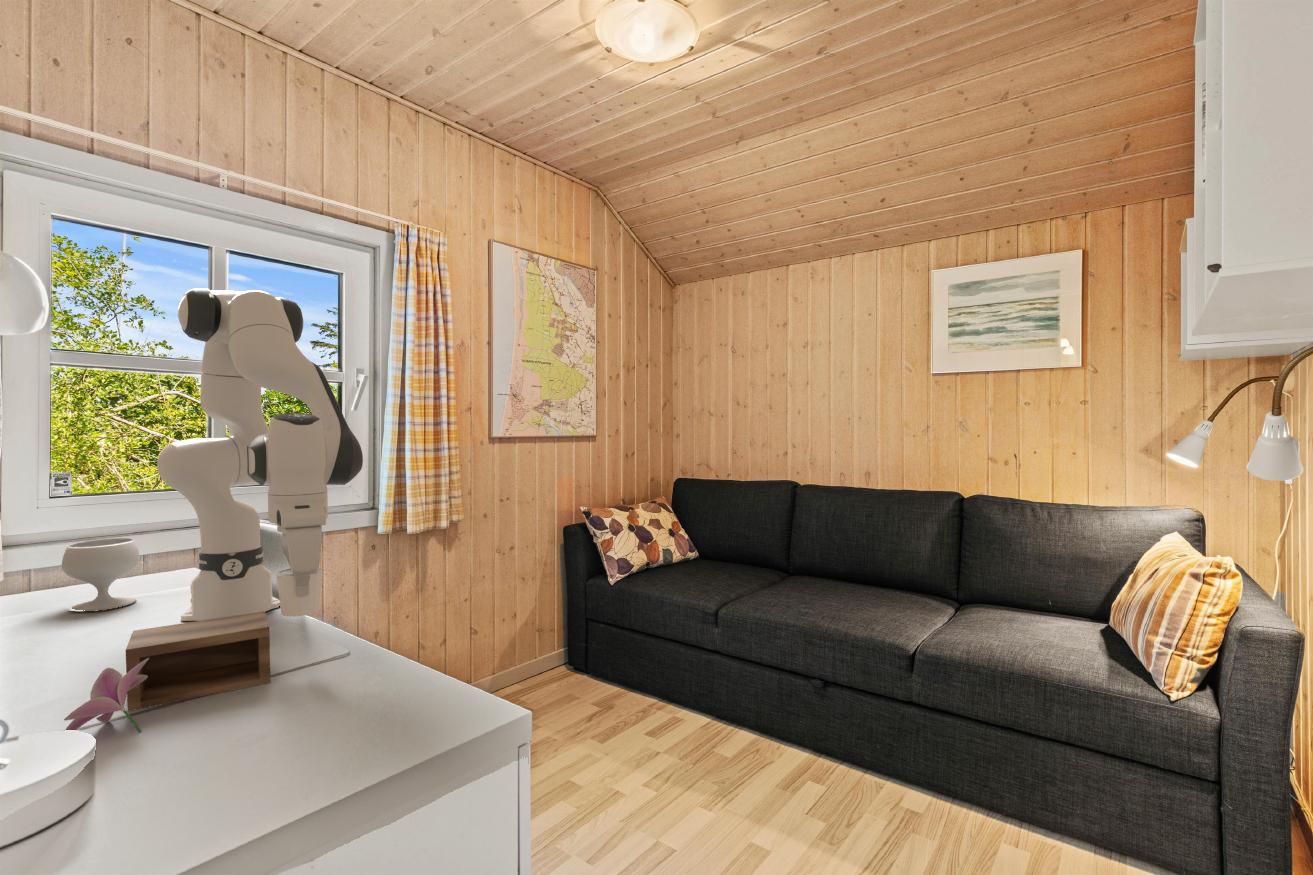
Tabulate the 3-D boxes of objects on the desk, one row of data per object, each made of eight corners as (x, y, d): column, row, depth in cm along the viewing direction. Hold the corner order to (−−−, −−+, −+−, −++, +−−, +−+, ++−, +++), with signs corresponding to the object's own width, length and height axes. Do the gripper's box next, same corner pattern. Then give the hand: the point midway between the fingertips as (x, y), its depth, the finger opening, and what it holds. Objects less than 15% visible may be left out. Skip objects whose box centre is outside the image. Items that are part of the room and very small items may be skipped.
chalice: (62, 606, 154) (60, 542, 154) (138, 595, 164) (136, 535, 163) (63, 618, 144) (61, 550, 144) (144, 606, 154) (142, 542, 153)
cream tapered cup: (303, 618, 107) (302, 576, 107) (267, 616, 109) (266, 574, 109) (332, 606, 114) (331, 566, 114) (297, 604, 116) (297, 565, 115)
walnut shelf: (135, 686, 105) (133, 630, 105) (266, 662, 115) (264, 611, 115) (127, 711, 96) (125, 649, 96) (270, 682, 106) (269, 626, 106)
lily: (165, 712, 98) (128, 658, 97) (195, 698, 91) (155, 640, 91) (70, 774, 88) (28, 714, 87) (96, 763, 81) (50, 698, 80)
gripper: (272, 504, 118) (273, 580, 118) (282, 519, 101) (283, 608, 101) (311, 501, 121) (313, 576, 122) (327, 515, 104) (329, 602, 105)
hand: (299, 591), depth 111 cm, fingers closed on cream tapered cup, 5 cm apart
